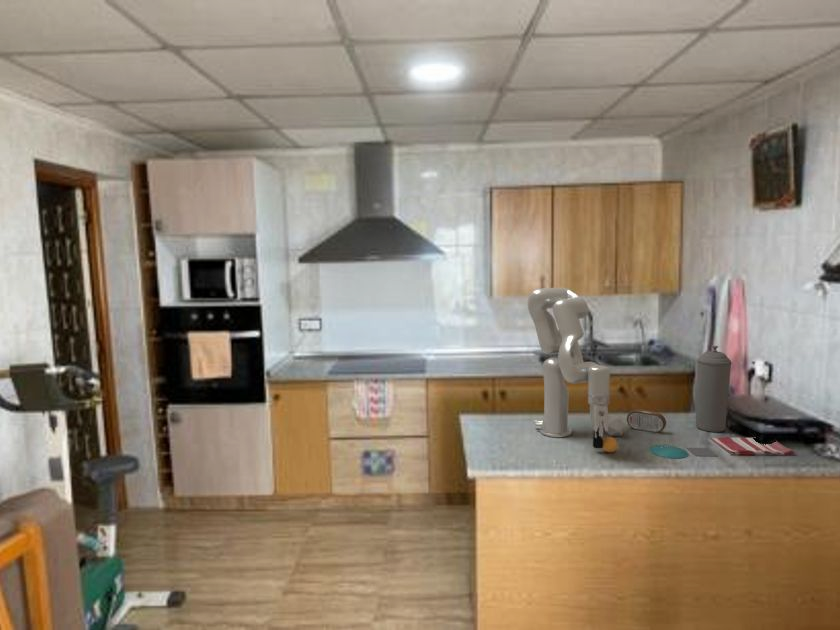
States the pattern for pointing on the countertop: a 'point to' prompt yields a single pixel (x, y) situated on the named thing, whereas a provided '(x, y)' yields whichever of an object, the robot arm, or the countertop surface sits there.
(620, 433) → the die
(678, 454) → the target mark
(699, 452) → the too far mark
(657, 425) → the tin
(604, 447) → the ball
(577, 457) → the countertop surface
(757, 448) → the dish towel
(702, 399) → the canister
